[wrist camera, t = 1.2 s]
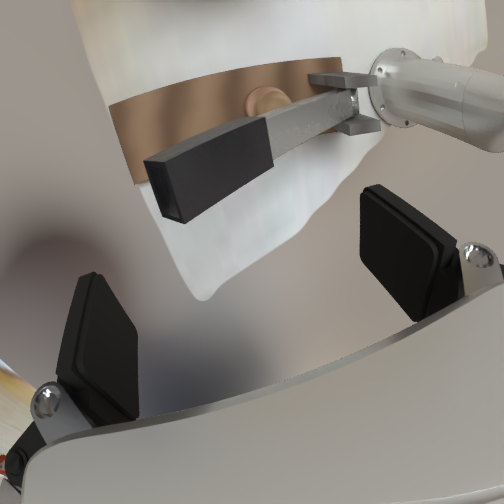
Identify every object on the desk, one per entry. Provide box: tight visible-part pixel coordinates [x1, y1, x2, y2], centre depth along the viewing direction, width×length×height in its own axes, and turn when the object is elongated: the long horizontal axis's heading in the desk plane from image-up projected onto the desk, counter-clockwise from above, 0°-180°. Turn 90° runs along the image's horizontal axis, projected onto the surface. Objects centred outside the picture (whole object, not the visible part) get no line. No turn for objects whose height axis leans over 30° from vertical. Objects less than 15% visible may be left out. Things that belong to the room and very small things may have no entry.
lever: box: [143, 88, 359, 224], centre depth 22 cm, size 25×4×2 cm
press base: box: [109, 57, 381, 184], centre depth 29 cm, size 28×10×10 cm, turn 101°
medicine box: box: [0, 455, 7, 477], centre depth 68 cm, size 15×8×8 cm, turn 121°
